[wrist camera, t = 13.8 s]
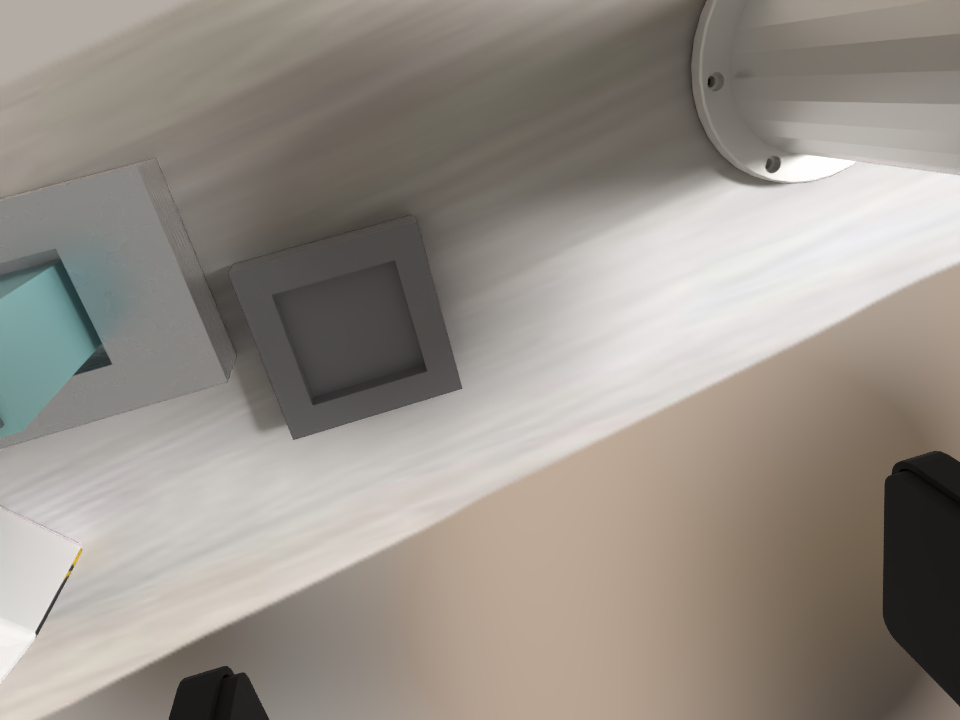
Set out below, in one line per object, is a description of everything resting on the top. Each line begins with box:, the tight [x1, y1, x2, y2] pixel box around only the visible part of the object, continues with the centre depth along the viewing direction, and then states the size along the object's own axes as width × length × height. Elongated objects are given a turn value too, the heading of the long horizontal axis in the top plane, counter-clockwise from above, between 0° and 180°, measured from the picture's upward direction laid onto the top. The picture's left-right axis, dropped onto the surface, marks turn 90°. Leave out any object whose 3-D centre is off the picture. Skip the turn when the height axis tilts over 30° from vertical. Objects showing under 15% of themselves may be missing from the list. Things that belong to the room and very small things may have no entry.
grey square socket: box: [228, 215, 462, 440], centre depth 35 cm, size 9×9×2 cm
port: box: [0, 158, 237, 449], centre depth 31 cm, size 14×10×4 cm
